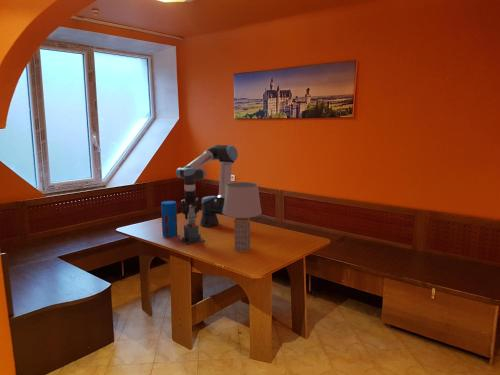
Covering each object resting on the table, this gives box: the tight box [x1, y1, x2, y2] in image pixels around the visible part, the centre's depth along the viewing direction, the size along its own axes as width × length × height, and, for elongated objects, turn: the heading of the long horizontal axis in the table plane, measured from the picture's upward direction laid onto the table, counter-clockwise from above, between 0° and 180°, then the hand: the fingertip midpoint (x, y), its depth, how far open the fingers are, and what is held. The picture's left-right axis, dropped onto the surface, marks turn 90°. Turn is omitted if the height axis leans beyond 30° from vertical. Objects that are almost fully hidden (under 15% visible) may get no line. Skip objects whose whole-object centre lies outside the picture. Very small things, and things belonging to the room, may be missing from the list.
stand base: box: [177, 223, 206, 246], centre depth 275 cm, size 14×14×13 cm
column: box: [186, 204, 196, 227], centre depth 274 cm, size 5×5×23 cm
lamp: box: [222, 181, 263, 253], centre depth 254 cm, size 25×25×44 cm
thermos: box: [160, 200, 178, 239], centre depth 286 cm, size 11×11×25 cm
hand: (191, 222), depth 274 cm, fingers closed on column, 4 cm apart
